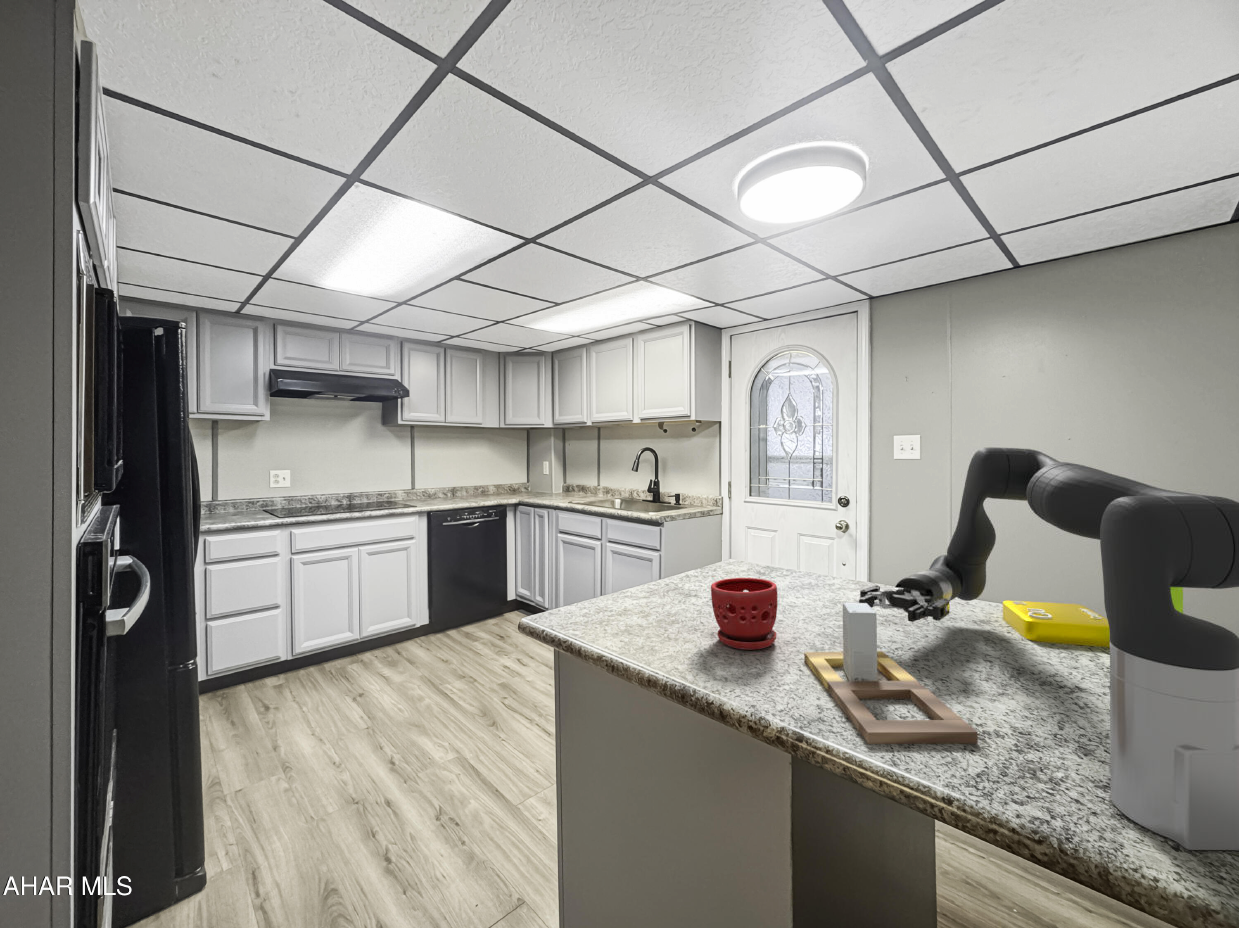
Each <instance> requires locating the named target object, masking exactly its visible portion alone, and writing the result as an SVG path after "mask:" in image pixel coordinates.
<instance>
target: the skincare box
mask: <svg viewBox="0 0 1239 928" xmlns="http://www.w3.org/2000/svg"><path fill="white" fill-rule="evenodd" d="M877 623H878V622H877V613H876V612H875V610H874V609H873V607H872V608H871V607H870V606H869V605H868V604H867V603H859V602H847V601H846V602H842V646H843V647H842V650H843V651H842V652H843V671H844V673H845V675H846V677H847V678H848V681H879V680H878V668H877V651H878V635H877V634H878V632H877V631H878V630H877V628H878V626H877Z"/></svg>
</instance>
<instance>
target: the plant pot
mask: <svg viewBox="0 0 1239 928" xmlns="http://www.w3.org/2000/svg"><path fill="white" fill-rule="evenodd" d="M710 596H711V597H710V598H711V605H712V611H713V614H714V618H715V621H716V623H717V625H718V627H719V629H718V631H717V638H718V639H719V641H721V642H722V643H723V644H724V645H726V646H728V647H729V648H733V649H734V648H735V649H739V650H749V651H751V650H752V651H753V650H761V649H765V648H767V647H770V646H771V645H772V644H774V643H775V641H776V640H777V635H778V634H777V632H776V631H775V630H774V629H773V628H774V626H775V623H776V621H777V620H776V619H777V614H778V613H777V612H778V586H777V584H776V583H775V582H774V581H772V580H768V579H762V578H755V577H754V578H753V577H733V578H732V577H731V578H724V579H721V580H717V581H715V582H713V583H711V586H710Z"/></svg>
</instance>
